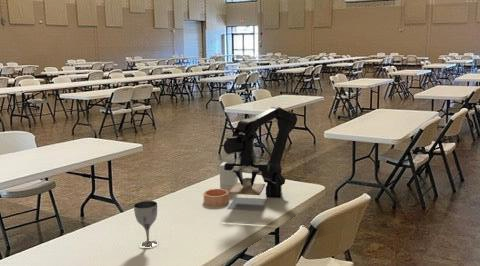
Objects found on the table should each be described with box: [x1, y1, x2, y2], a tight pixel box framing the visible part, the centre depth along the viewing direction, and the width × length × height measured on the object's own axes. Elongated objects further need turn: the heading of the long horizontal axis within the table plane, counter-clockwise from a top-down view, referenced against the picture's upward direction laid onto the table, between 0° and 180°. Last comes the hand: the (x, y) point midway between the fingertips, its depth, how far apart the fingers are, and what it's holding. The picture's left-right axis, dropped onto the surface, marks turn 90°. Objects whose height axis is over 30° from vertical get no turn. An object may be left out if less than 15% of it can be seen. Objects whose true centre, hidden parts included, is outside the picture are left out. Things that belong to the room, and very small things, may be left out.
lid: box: [228, 177, 266, 196], centre depth 199 cm, size 13×13×5 cm
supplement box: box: [219, 161, 239, 192], centre depth 222 cm, size 7×7×13 cm
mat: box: [226, 196, 269, 212], centre depth 201 cm, size 15×15×1 cm
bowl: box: [202, 188, 230, 207], centre depth 205 cm, size 11×11×4 cm
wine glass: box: [133, 200, 158, 247], centre depth 163 cm, size 8×8×15 cm
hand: (247, 185), depth 199 cm, fingers closed on lid, 4 cm apart
